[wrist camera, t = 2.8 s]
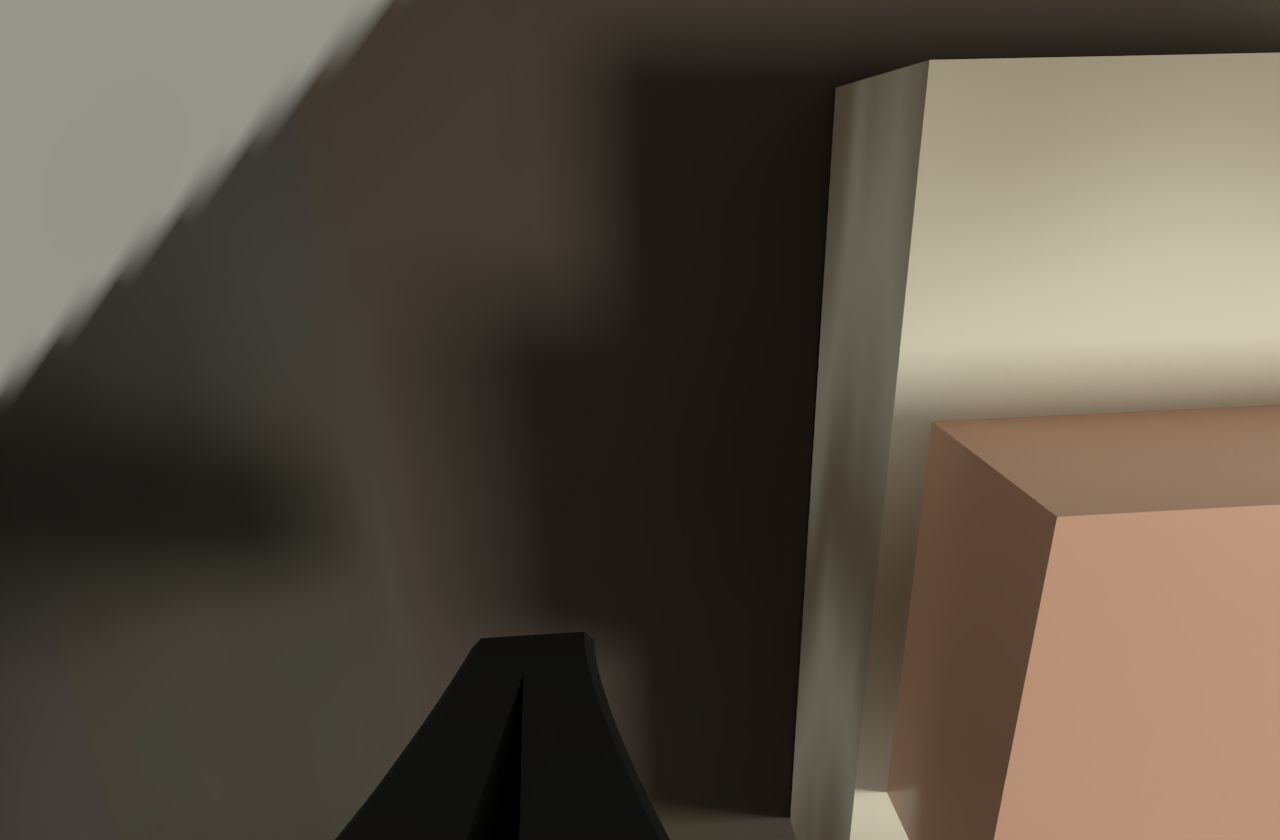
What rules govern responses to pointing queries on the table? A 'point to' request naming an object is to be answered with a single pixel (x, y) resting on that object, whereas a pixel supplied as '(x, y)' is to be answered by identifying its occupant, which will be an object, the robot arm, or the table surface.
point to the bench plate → (1010, 322)
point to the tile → (1095, 630)
